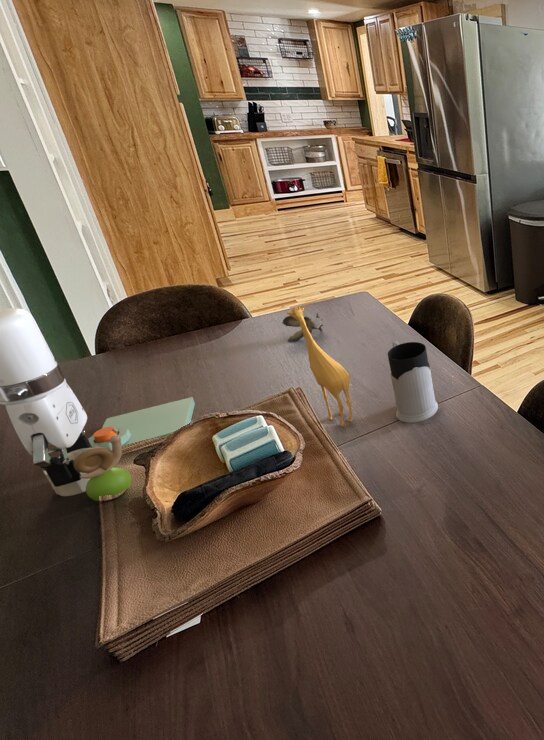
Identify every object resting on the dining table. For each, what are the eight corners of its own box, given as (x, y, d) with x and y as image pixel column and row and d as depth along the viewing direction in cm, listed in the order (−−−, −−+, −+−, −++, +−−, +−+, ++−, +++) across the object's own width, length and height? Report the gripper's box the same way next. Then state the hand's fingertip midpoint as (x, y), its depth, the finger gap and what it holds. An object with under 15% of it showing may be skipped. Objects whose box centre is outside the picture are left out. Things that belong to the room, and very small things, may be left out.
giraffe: (305, 408, 104) (275, 305, 95) (325, 398, 108) (298, 298, 98) (346, 435, 96) (318, 326, 86) (366, 424, 99) (341, 317, 90)
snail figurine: (149, 488, 83) (122, 433, 79) (100, 513, 78) (68, 457, 73) (136, 476, 86) (110, 422, 81) (88, 500, 81) (57, 444, 76)
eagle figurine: (315, 321, 141) (280, 326, 134) (319, 306, 137) (283, 310, 130) (323, 341, 138) (287, 347, 131) (327, 326, 134) (291, 332, 127)
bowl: (50, 503, 80) (37, 480, 78) (63, 478, 85) (51, 456, 83) (103, 486, 83) (92, 465, 81) (113, 464, 89) (102, 442, 87)
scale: (88, 466, 88) (80, 451, 87) (107, 426, 98) (100, 412, 97) (187, 437, 95) (181, 423, 94) (195, 403, 106) (189, 390, 104)
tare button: (94, 445, 89) (90, 438, 88) (98, 436, 91) (95, 429, 90) (115, 439, 90) (112, 433, 90) (119, 430, 92) (116, 424, 92)
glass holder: (404, 428, 98) (392, 366, 92) (383, 396, 108) (371, 339, 103) (444, 411, 103) (435, 352, 98) (420, 383, 113) (411, 327, 108)
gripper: (42, 403, 71) (91, 492, 78) (77, 353, 85) (117, 433, 92) (-33, 420, 68) (25, 512, 75) (16, 365, 81) (62, 448, 88)
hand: (75, 468), depth 83 cm, fingers closed on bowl, 6 cm apart
